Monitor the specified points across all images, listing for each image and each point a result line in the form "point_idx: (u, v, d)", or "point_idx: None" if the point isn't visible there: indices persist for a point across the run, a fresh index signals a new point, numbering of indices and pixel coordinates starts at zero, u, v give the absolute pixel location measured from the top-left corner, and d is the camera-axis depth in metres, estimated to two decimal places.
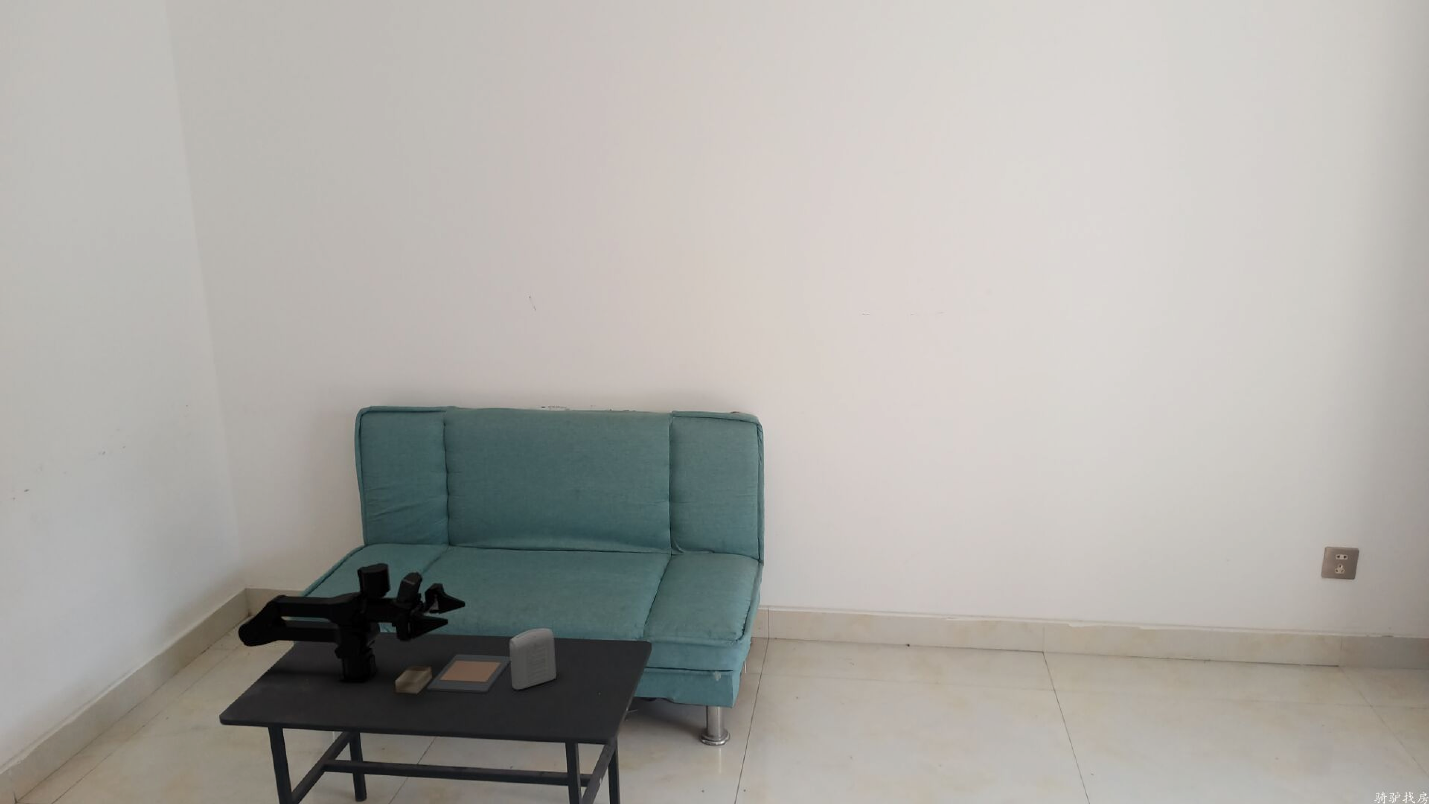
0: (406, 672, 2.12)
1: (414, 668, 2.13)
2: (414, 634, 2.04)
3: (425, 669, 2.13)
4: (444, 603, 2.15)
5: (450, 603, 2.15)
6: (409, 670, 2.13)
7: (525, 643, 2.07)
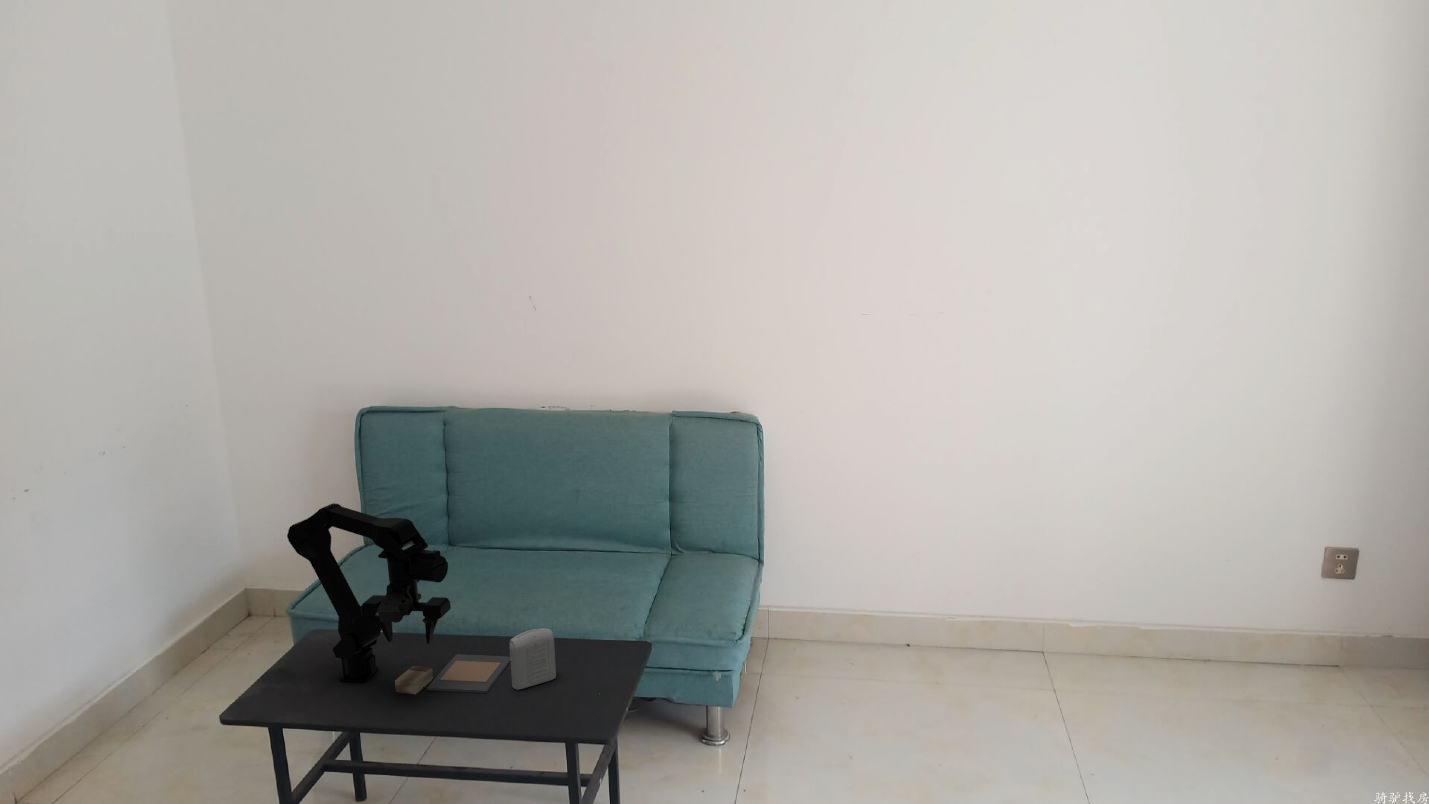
0: (407, 672, 2.12)
1: (416, 668, 2.13)
2: None
3: (426, 670, 2.13)
4: None
5: None
6: (410, 670, 2.13)
7: (525, 643, 2.07)
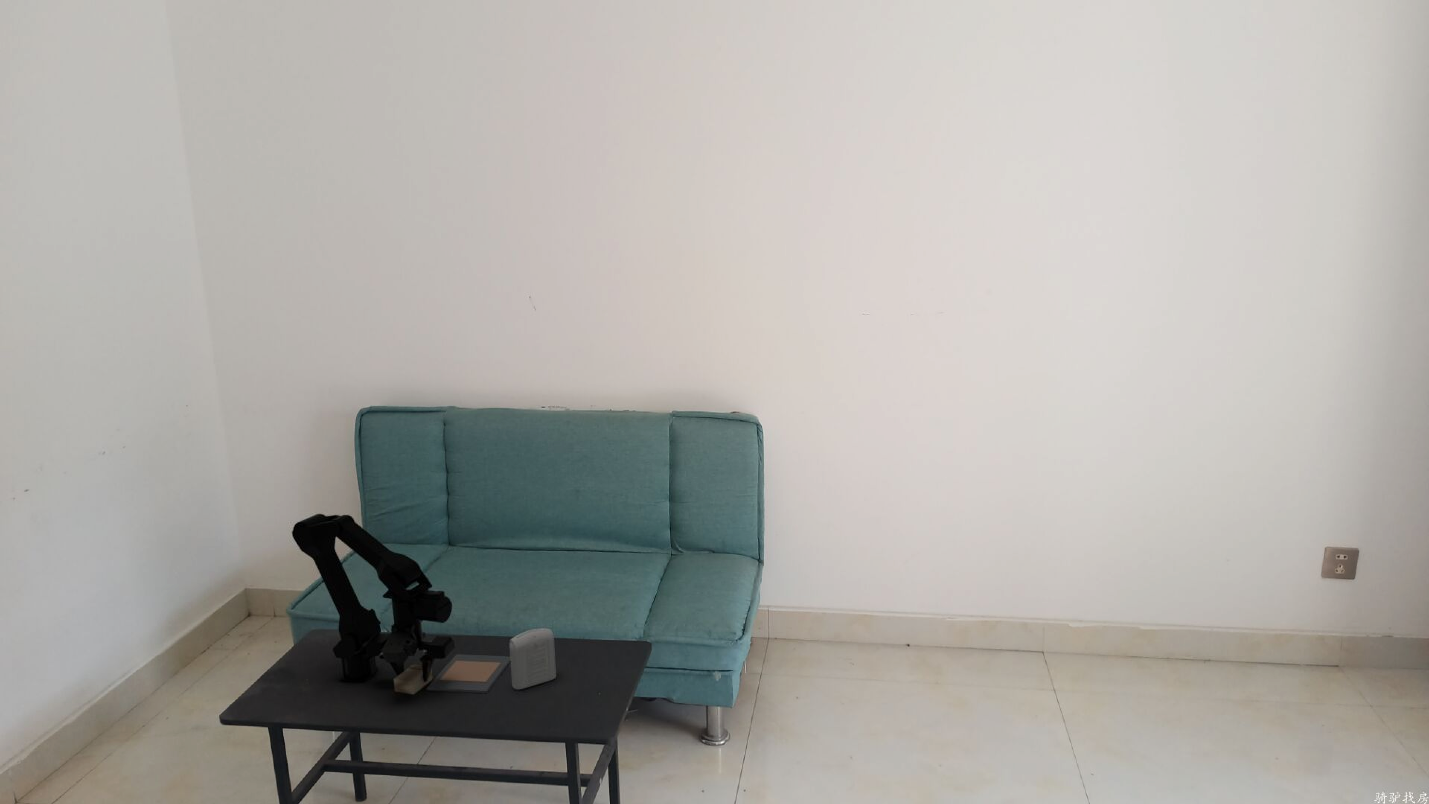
0: (407, 670, 2.12)
1: (415, 667, 2.13)
2: None
3: None
4: None
5: None
6: (410, 668, 2.13)
7: (524, 643, 2.07)
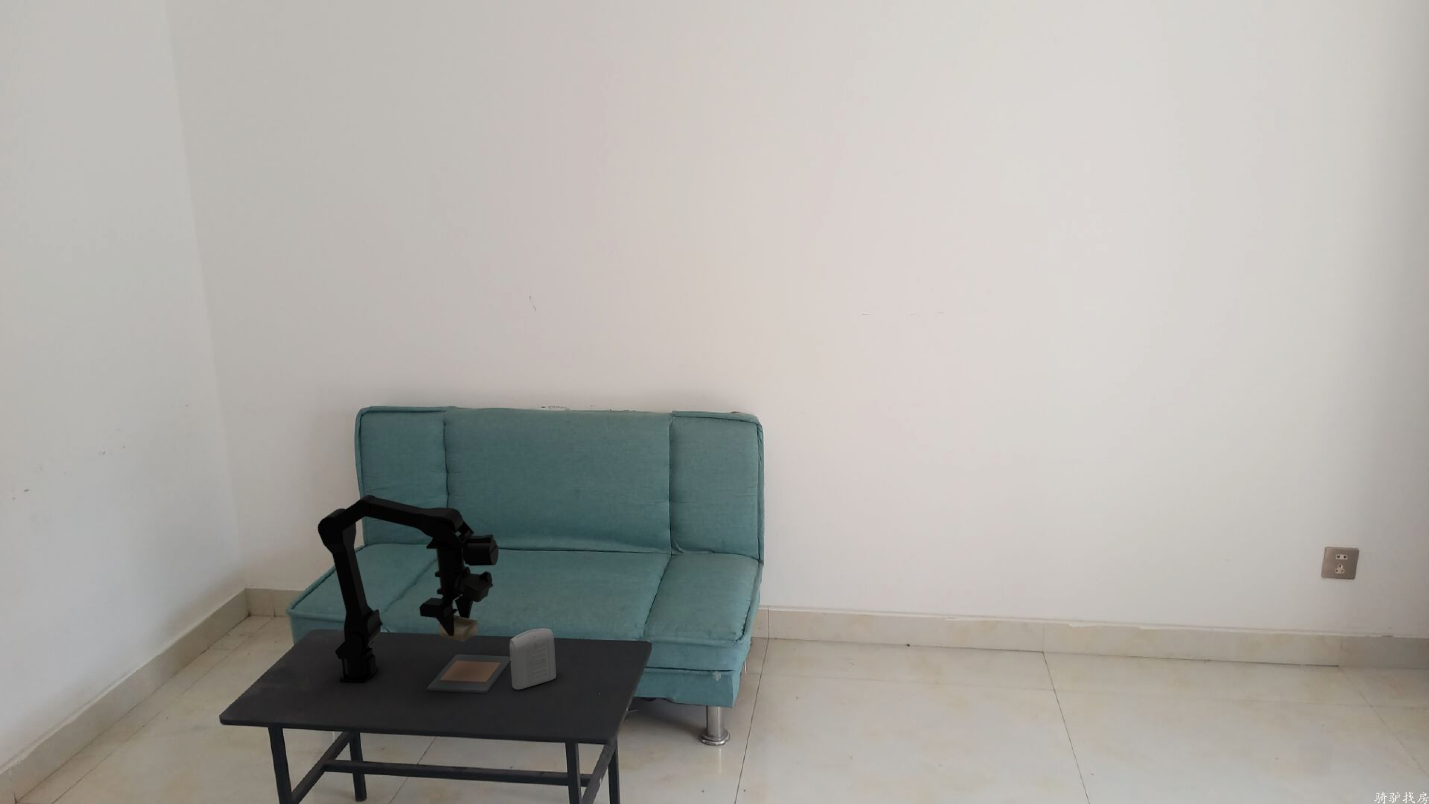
0: None
1: None
2: None
3: (456, 616, 2.15)
4: (463, 603, 2.15)
5: (464, 610, 2.15)
6: None
7: (525, 643, 2.07)
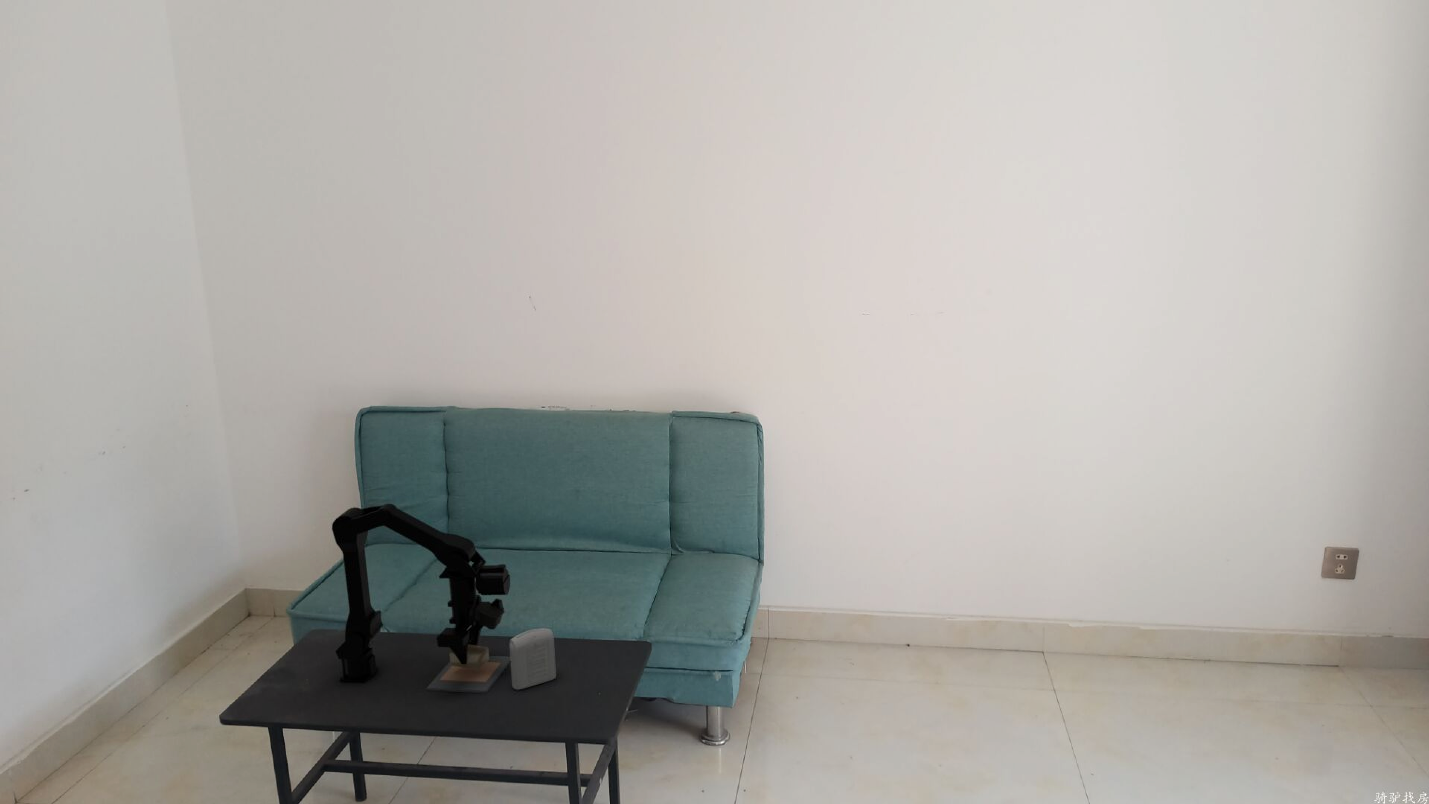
0: None
1: None
2: None
3: None
4: (472, 631, 2.17)
5: (473, 638, 2.17)
6: None
7: (525, 643, 2.06)
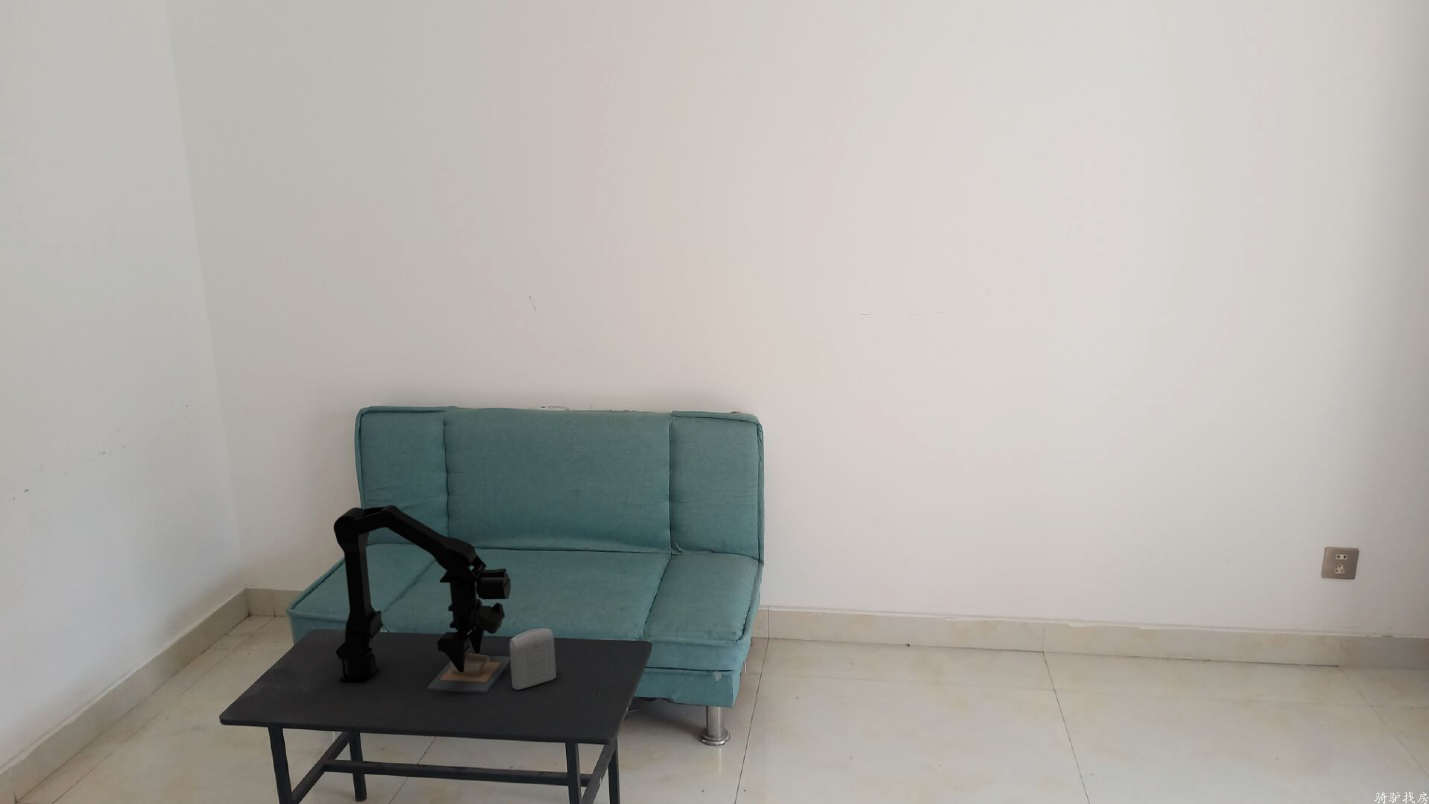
0: None
1: None
2: None
3: (466, 653, 2.17)
4: (475, 632, 2.19)
5: (476, 639, 2.19)
6: None
7: (525, 643, 2.07)
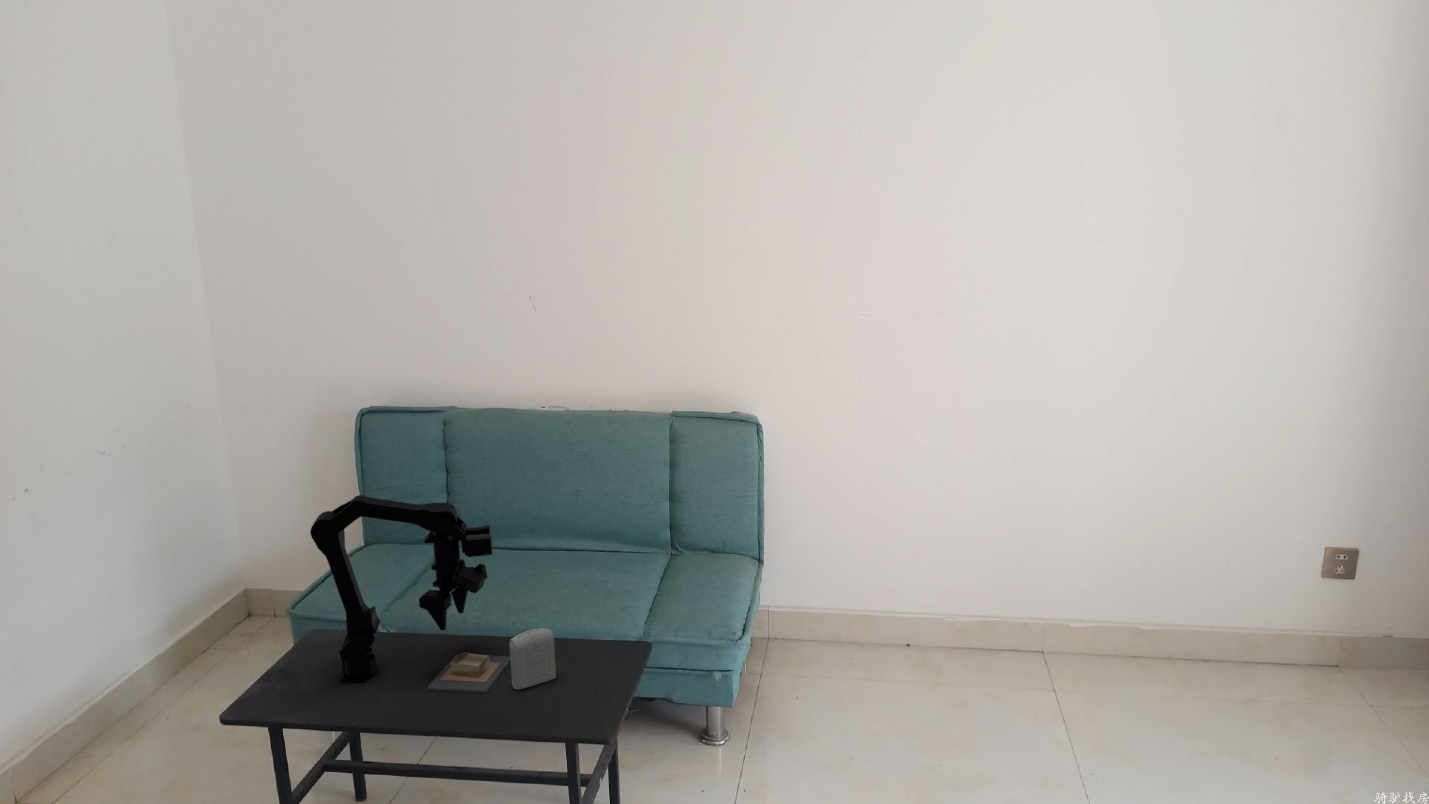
0: (463, 662, 2.13)
1: (459, 659, 2.15)
2: None
3: (466, 653, 2.17)
4: (459, 592, 2.23)
5: (460, 599, 2.23)
6: (460, 661, 2.14)
7: (524, 643, 2.07)
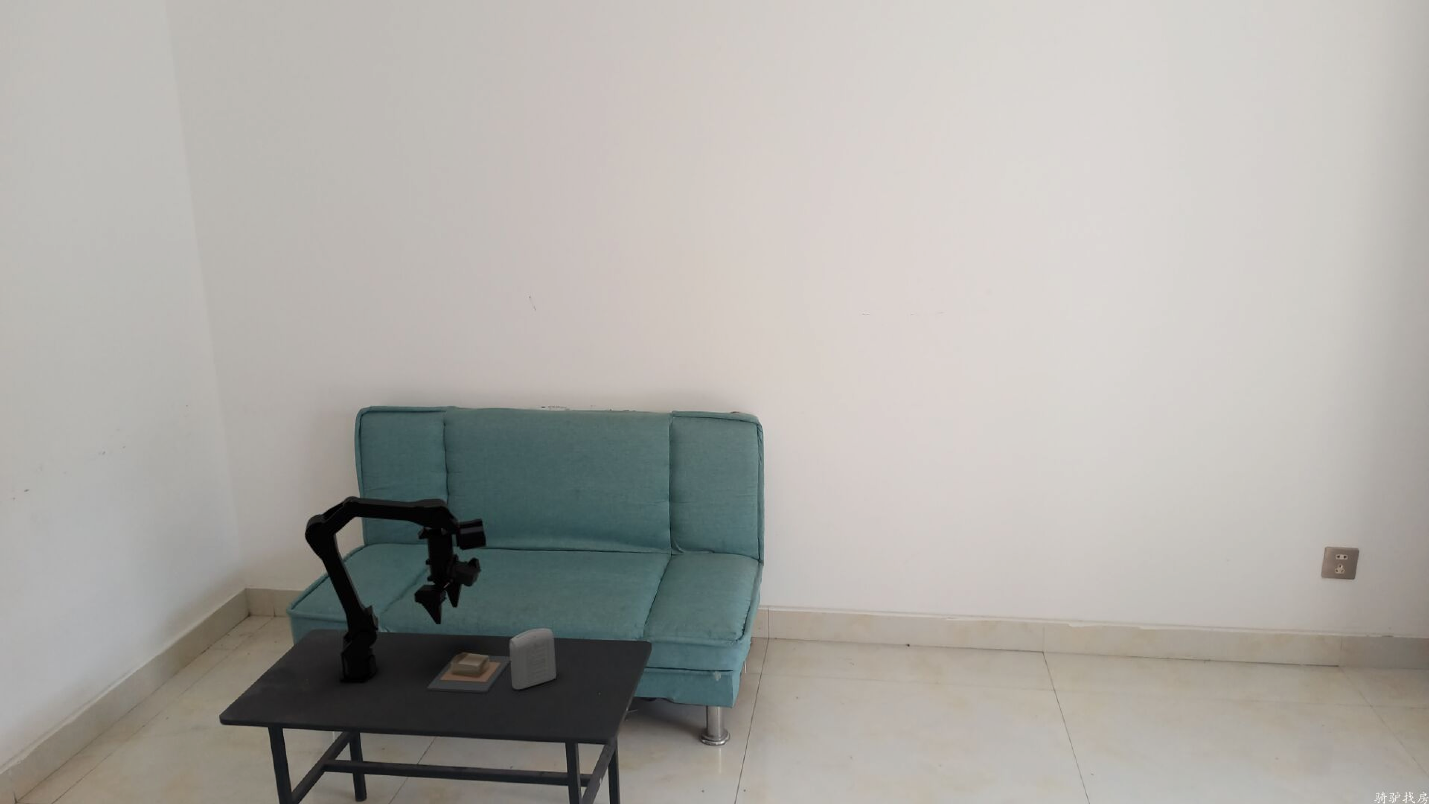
0: (463, 662, 2.13)
1: (459, 659, 2.15)
2: None
3: (466, 653, 2.17)
4: (453, 586, 2.25)
5: (454, 593, 2.25)
6: (460, 661, 2.14)
7: (524, 643, 2.07)
